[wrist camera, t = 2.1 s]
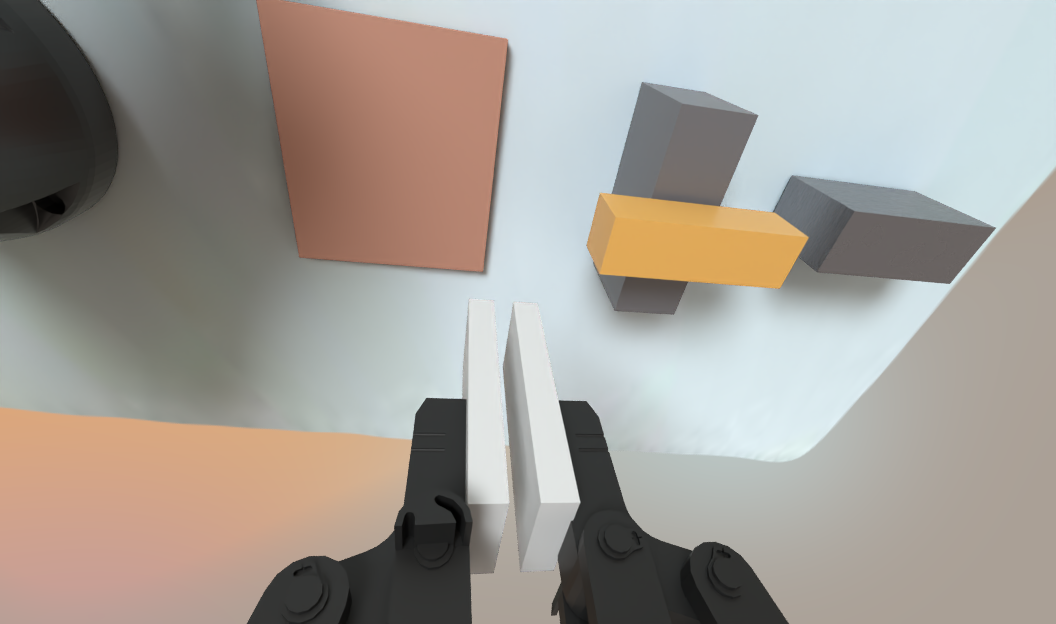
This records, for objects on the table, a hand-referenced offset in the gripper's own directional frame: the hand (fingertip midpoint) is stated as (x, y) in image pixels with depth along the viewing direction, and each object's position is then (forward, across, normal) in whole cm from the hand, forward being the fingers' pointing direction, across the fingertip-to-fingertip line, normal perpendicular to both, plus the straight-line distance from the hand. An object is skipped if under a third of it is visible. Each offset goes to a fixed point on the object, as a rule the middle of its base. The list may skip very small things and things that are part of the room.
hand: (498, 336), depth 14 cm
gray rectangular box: (+16, +26, 0) cm, 30 cm away
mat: (+16, -6, 0) cm, 17 cm away
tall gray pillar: (+17, +10, 0) cm, 20 cm away
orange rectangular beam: (+10, +10, 0) cm, 15 cm away
